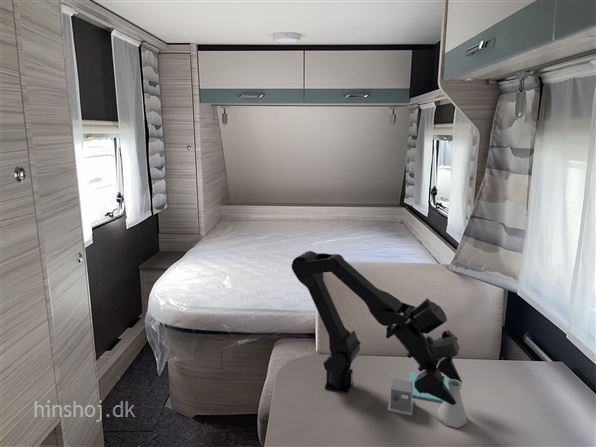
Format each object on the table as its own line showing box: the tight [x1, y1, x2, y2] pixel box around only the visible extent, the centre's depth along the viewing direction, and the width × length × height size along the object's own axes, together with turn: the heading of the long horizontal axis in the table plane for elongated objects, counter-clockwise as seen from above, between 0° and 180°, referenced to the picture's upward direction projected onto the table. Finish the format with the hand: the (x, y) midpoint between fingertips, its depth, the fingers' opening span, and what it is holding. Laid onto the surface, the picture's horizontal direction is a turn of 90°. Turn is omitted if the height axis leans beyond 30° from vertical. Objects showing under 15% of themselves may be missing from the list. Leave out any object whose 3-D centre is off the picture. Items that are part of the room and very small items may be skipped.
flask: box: [436, 379, 468, 429], centre depth 109 cm, size 7×7×10 cm
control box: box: [387, 377, 414, 416], centre depth 114 cm, size 6×6×6 cm
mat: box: [408, 371, 451, 403], centre depth 122 cm, size 11×11×1 cm
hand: (457, 393), depth 108 cm, fingers open, 9 cm apart
